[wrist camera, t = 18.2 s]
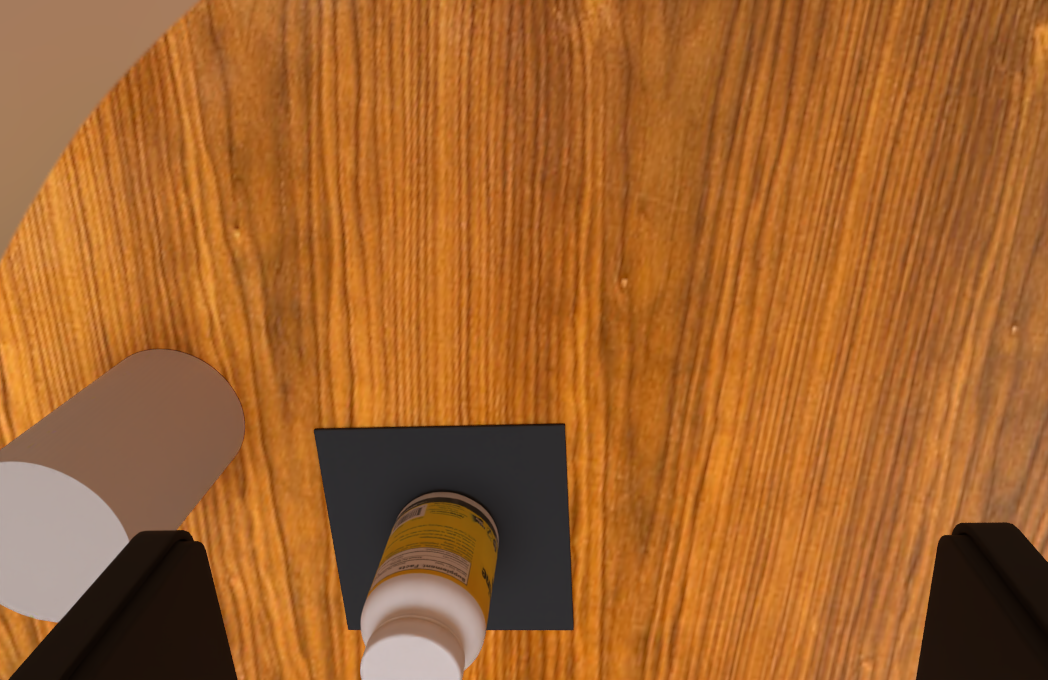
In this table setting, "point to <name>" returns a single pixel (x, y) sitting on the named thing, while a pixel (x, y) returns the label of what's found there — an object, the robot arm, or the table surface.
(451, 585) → the pill bottle
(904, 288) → the table surface
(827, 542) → the table surface
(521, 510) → the mat
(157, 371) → the grey upright cylinder
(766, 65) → the table surface
